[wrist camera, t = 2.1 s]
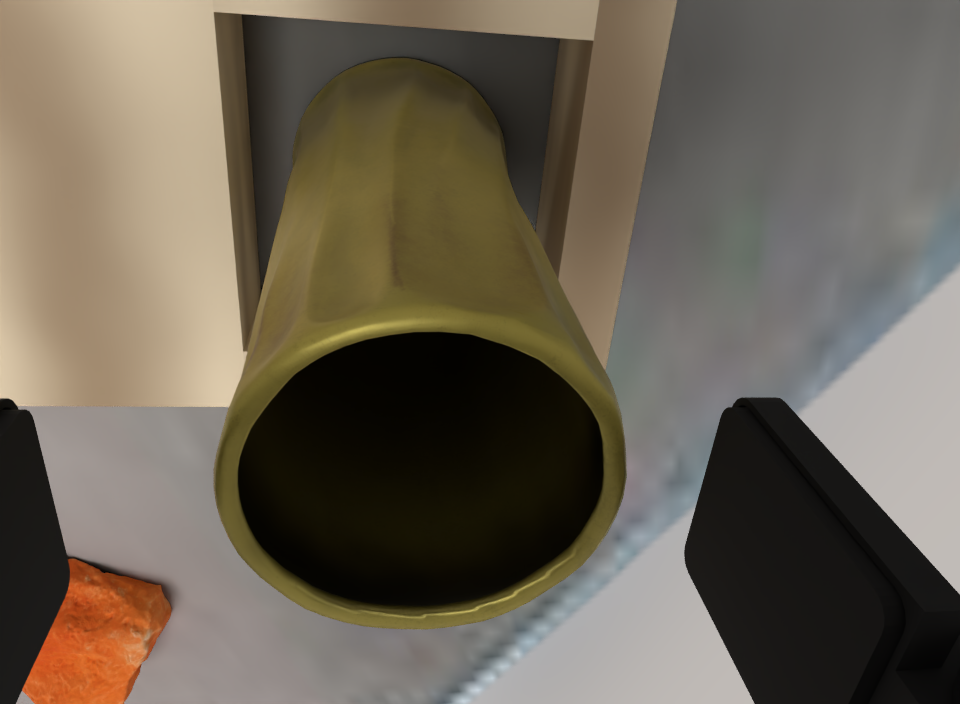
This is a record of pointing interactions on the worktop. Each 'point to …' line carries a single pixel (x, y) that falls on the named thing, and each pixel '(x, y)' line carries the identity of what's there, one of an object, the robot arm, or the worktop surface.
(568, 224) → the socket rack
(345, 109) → the vase
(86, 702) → the rock
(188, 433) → the worktop surface
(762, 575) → the robot arm
